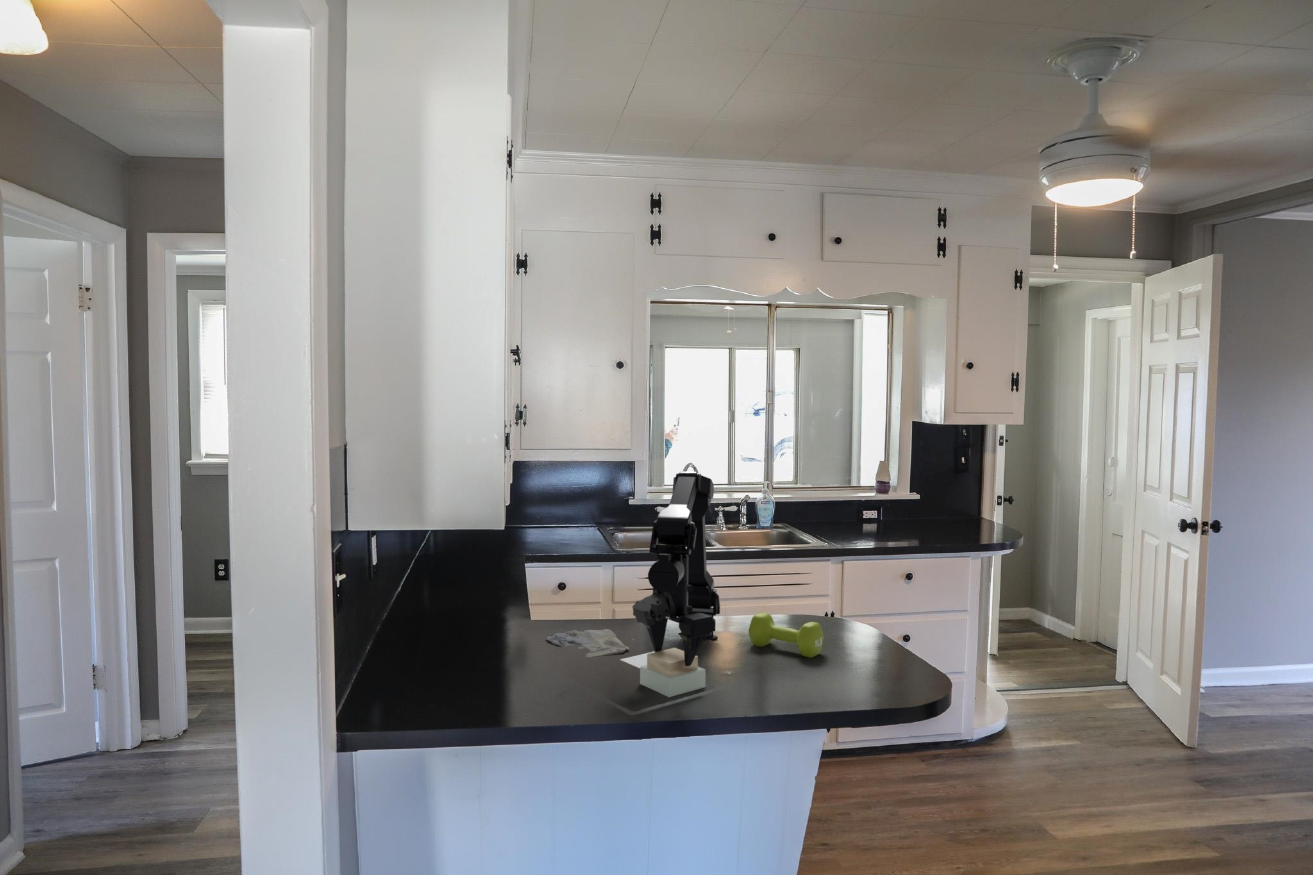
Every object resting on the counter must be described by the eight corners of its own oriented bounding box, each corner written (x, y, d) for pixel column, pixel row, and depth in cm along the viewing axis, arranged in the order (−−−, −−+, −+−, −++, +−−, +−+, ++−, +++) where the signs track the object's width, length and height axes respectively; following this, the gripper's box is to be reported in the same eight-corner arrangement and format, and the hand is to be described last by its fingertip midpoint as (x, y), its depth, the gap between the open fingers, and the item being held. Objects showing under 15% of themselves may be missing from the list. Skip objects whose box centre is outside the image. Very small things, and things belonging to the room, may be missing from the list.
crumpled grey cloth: (632, 657, 182) (632, 646, 182) (565, 665, 177) (565, 654, 177) (608, 635, 199) (608, 625, 199) (546, 641, 193) (546, 631, 193)
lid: (674, 659, 166) (674, 647, 166) (697, 669, 161) (697, 656, 161) (646, 666, 162) (647, 654, 162) (669, 676, 156) (669, 663, 156)
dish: (675, 677, 168) (675, 657, 168) (705, 689, 161) (705, 669, 160) (640, 686, 162) (640, 666, 162) (669, 700, 155) (669, 678, 155)
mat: (656, 653, 183) (656, 650, 183) (685, 665, 175) (685, 662, 175) (619, 662, 177) (619, 659, 177) (648, 674, 169) (648, 671, 169)
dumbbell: (744, 647, 189) (745, 615, 189) (763, 639, 195) (763, 609, 195) (809, 662, 179) (810, 628, 178) (827, 653, 185) (827, 621, 184)
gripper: (611, 577, 163) (610, 655, 164) (671, 595, 148) (670, 681, 149) (656, 569, 170) (655, 645, 170) (717, 586, 155) (717, 669, 156)
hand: (672, 659), depth 161 cm, fingers open, 9 cm apart
